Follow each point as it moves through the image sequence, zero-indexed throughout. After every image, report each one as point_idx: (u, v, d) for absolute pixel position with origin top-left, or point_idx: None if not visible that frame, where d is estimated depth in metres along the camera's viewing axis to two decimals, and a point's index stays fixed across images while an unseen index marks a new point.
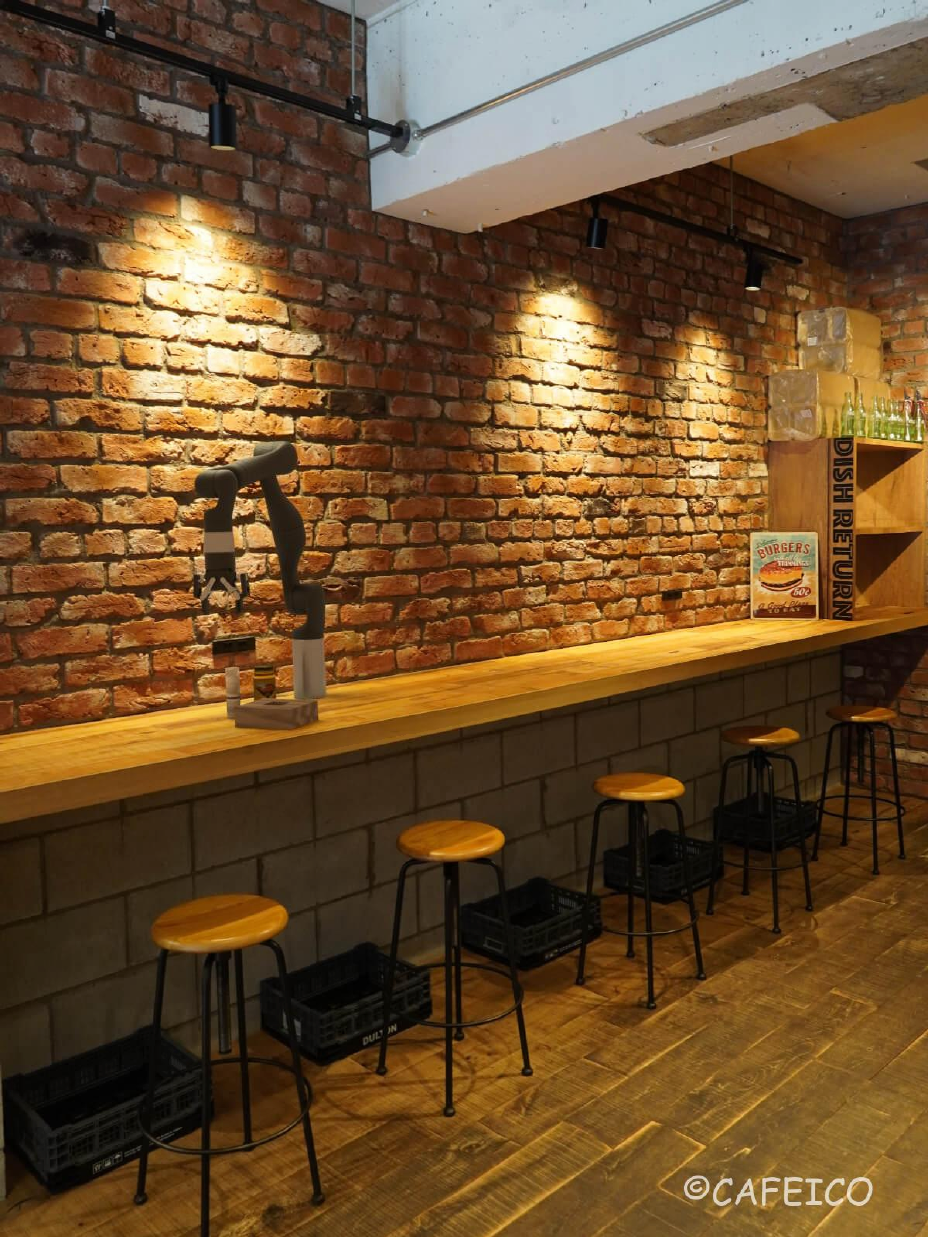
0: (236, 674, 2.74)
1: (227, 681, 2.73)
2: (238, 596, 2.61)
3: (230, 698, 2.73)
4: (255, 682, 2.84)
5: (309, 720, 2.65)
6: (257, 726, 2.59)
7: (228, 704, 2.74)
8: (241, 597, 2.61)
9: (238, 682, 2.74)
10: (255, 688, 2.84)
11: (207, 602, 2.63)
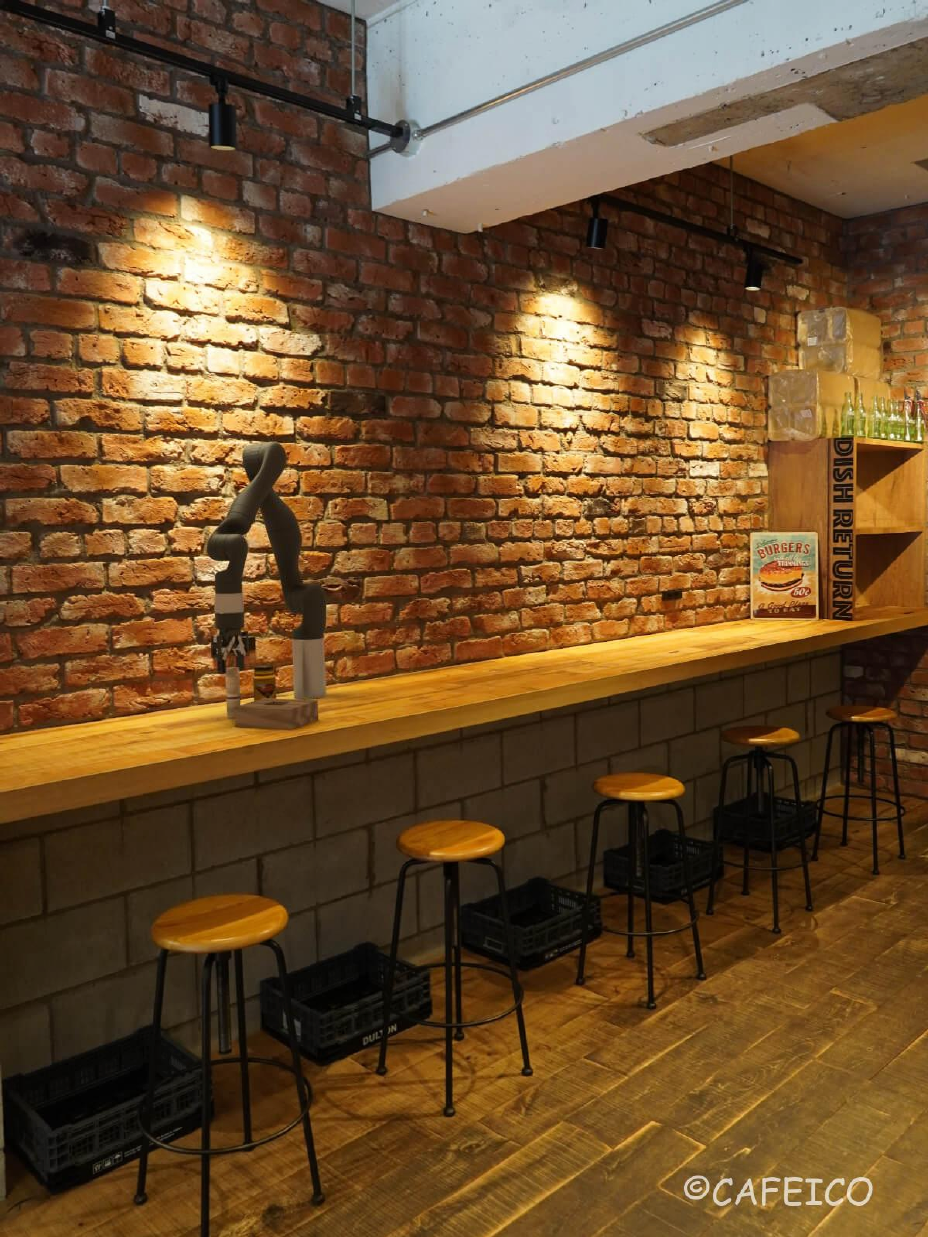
0: (236, 674, 2.74)
1: (227, 681, 2.73)
2: (244, 652, 2.78)
3: (230, 698, 2.73)
4: (255, 682, 2.84)
5: (309, 720, 2.65)
6: (257, 726, 2.59)
7: (228, 704, 2.74)
8: None
9: (238, 682, 2.74)
10: (255, 688, 2.84)
11: None
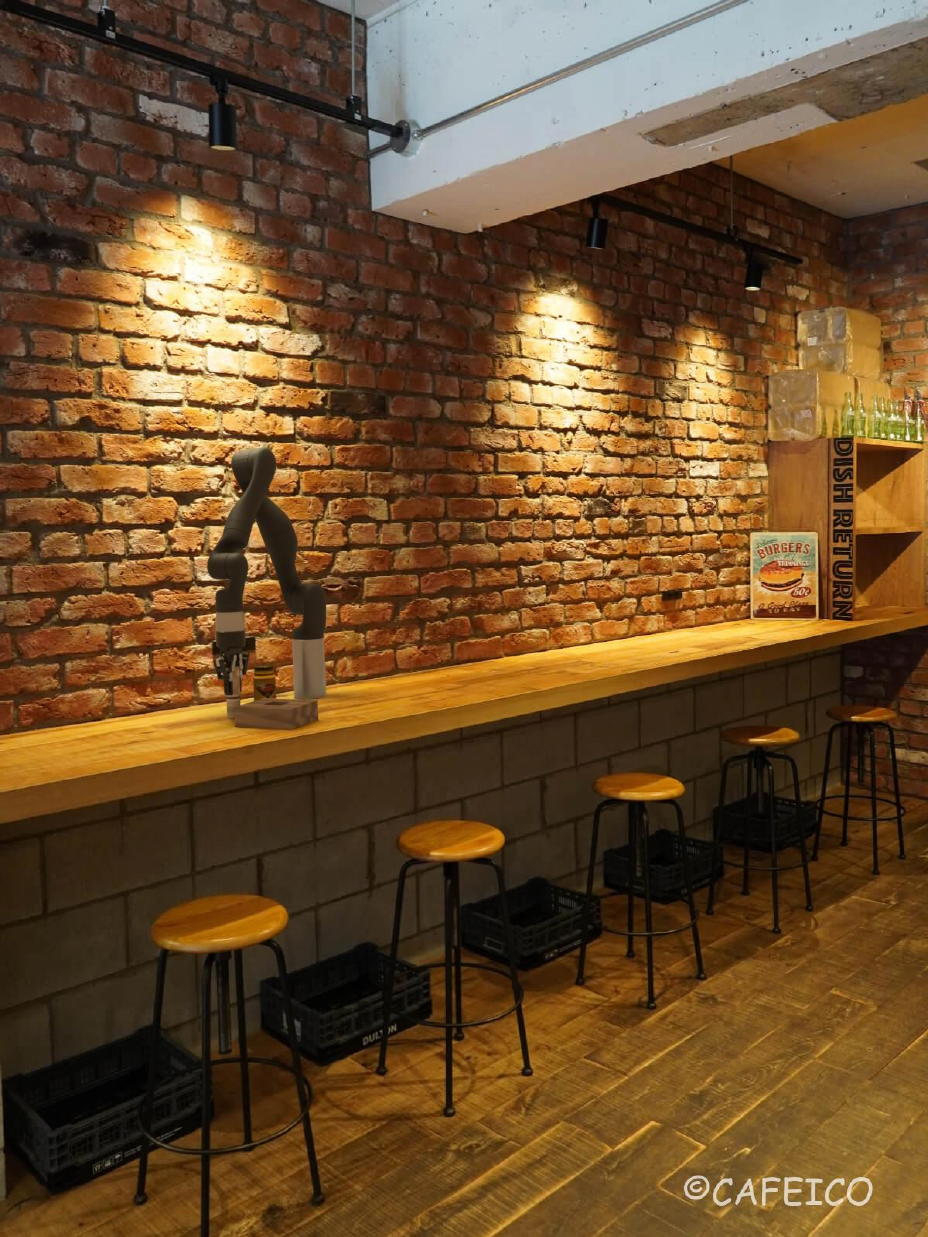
0: (236, 674, 2.74)
1: None
2: (242, 675, 2.77)
3: (230, 698, 2.73)
4: (255, 682, 2.84)
5: (309, 720, 2.65)
6: (257, 726, 2.59)
7: (228, 704, 2.74)
8: None
9: (238, 682, 2.74)
10: (255, 688, 2.84)
11: None
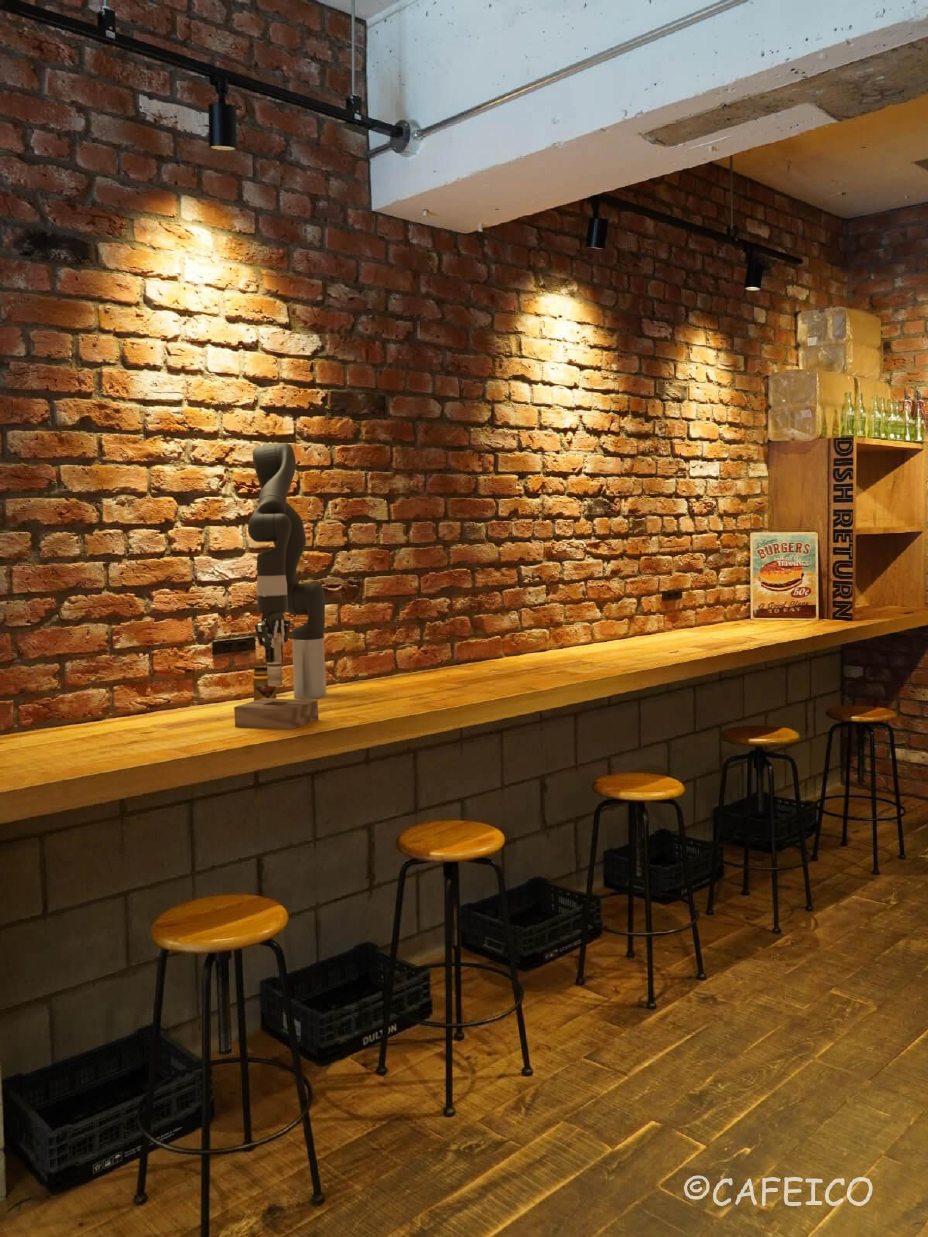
0: (278, 640, 2.63)
1: None
2: (283, 642, 2.66)
3: (271, 665, 2.62)
4: (255, 682, 2.84)
5: (309, 720, 2.65)
6: (257, 726, 2.59)
7: (269, 672, 2.63)
8: None
9: (280, 649, 2.63)
10: (255, 688, 2.84)
11: None
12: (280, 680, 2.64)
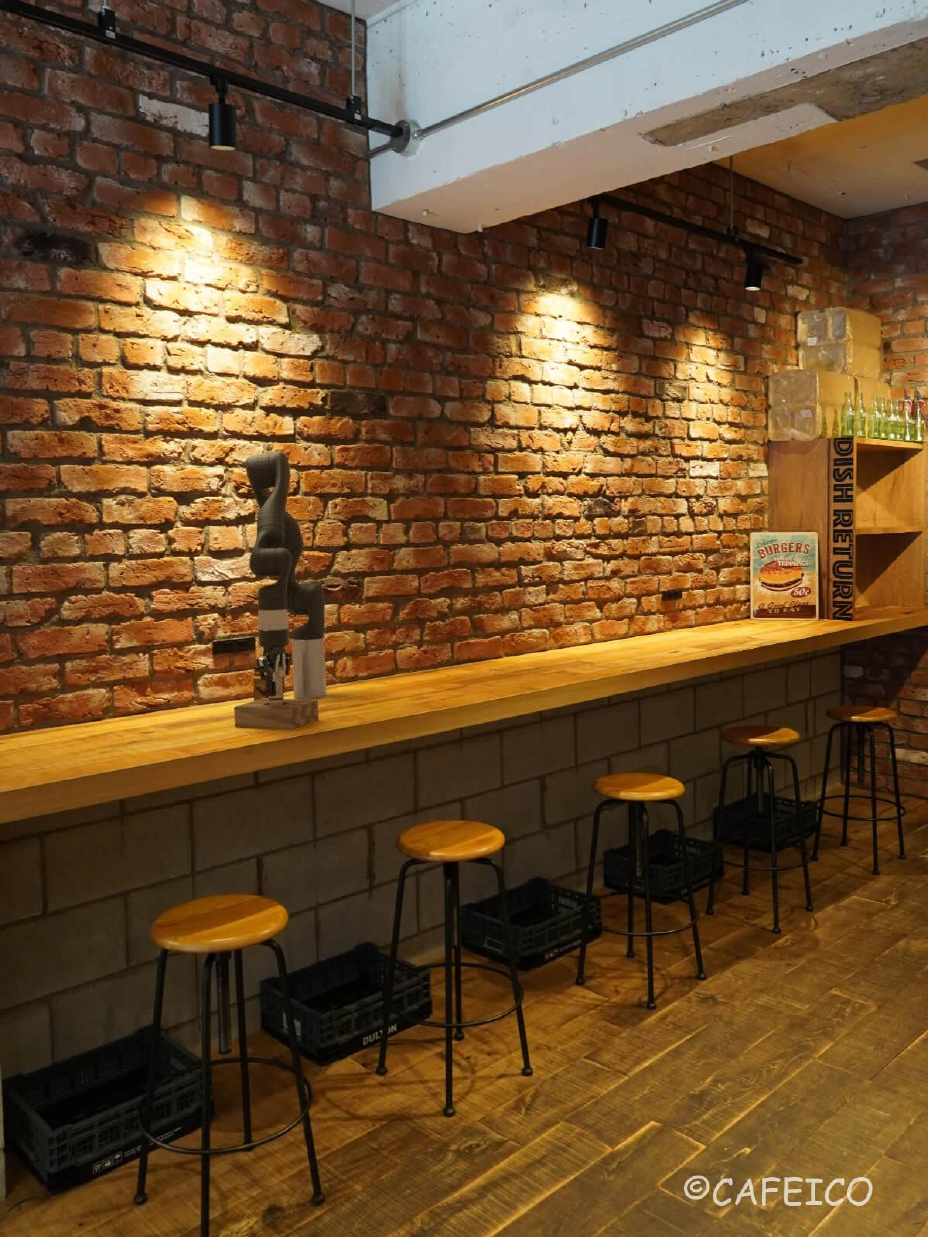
0: (279, 674, 2.63)
1: None
2: (284, 675, 2.67)
3: (273, 699, 2.63)
4: (255, 682, 2.84)
5: (309, 720, 2.65)
6: (257, 726, 2.59)
7: None
8: None
9: (281, 683, 2.64)
10: (255, 688, 2.84)
11: None
12: None
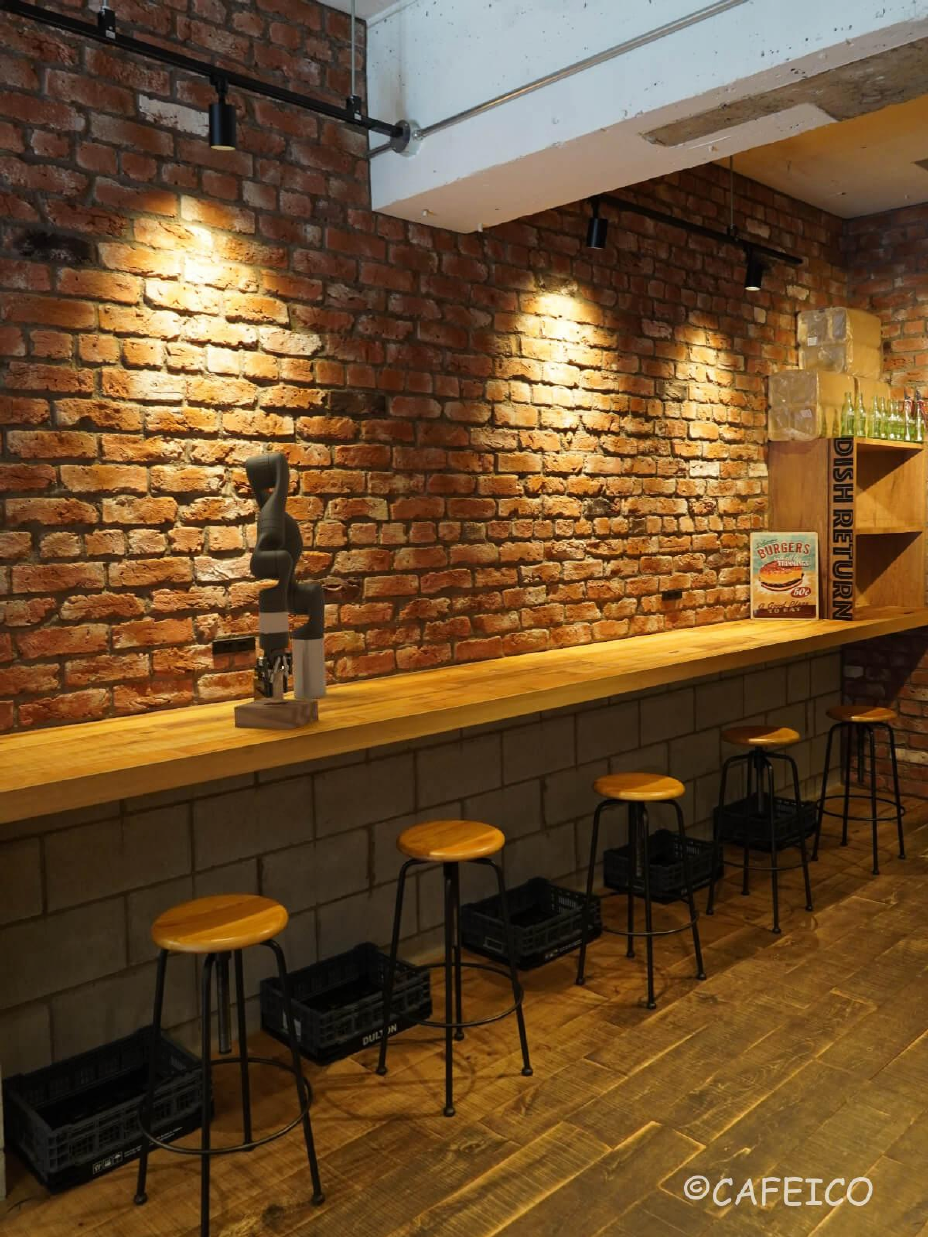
0: (280, 679, 2.63)
1: None
2: (288, 674, 2.68)
3: (273, 703, 2.63)
4: (255, 682, 2.84)
5: (309, 720, 2.65)
6: (257, 726, 2.59)
7: None
8: None
9: (282, 687, 2.64)
10: (255, 688, 2.84)
11: None
12: None
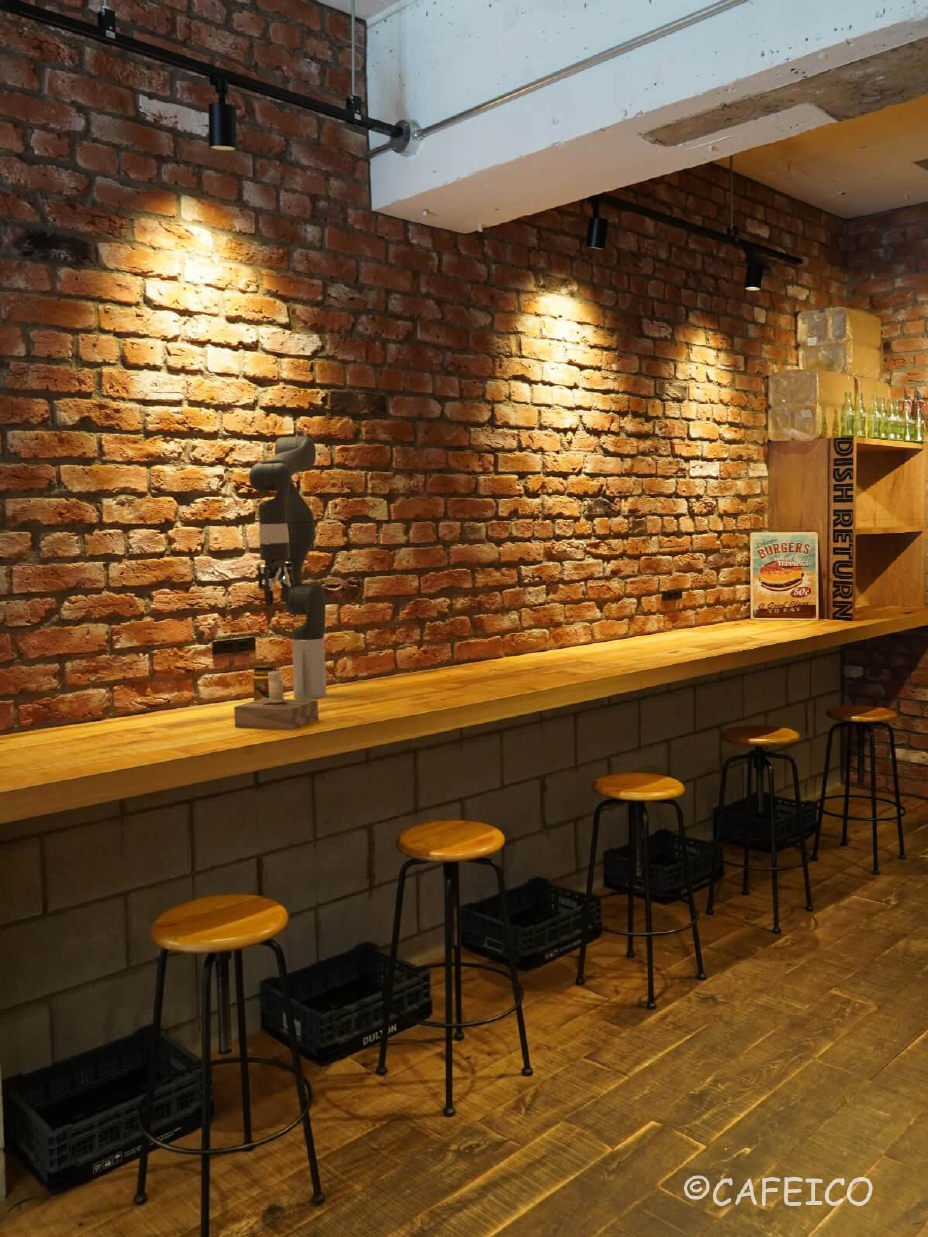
0: (280, 679, 2.63)
1: (270, 686, 2.63)
2: (290, 583, 2.76)
3: (273, 703, 2.63)
4: (255, 682, 2.84)
5: (309, 720, 2.65)
6: (257, 726, 2.59)
7: None
8: None
9: (282, 687, 2.64)
10: (255, 688, 2.84)
11: None
12: None
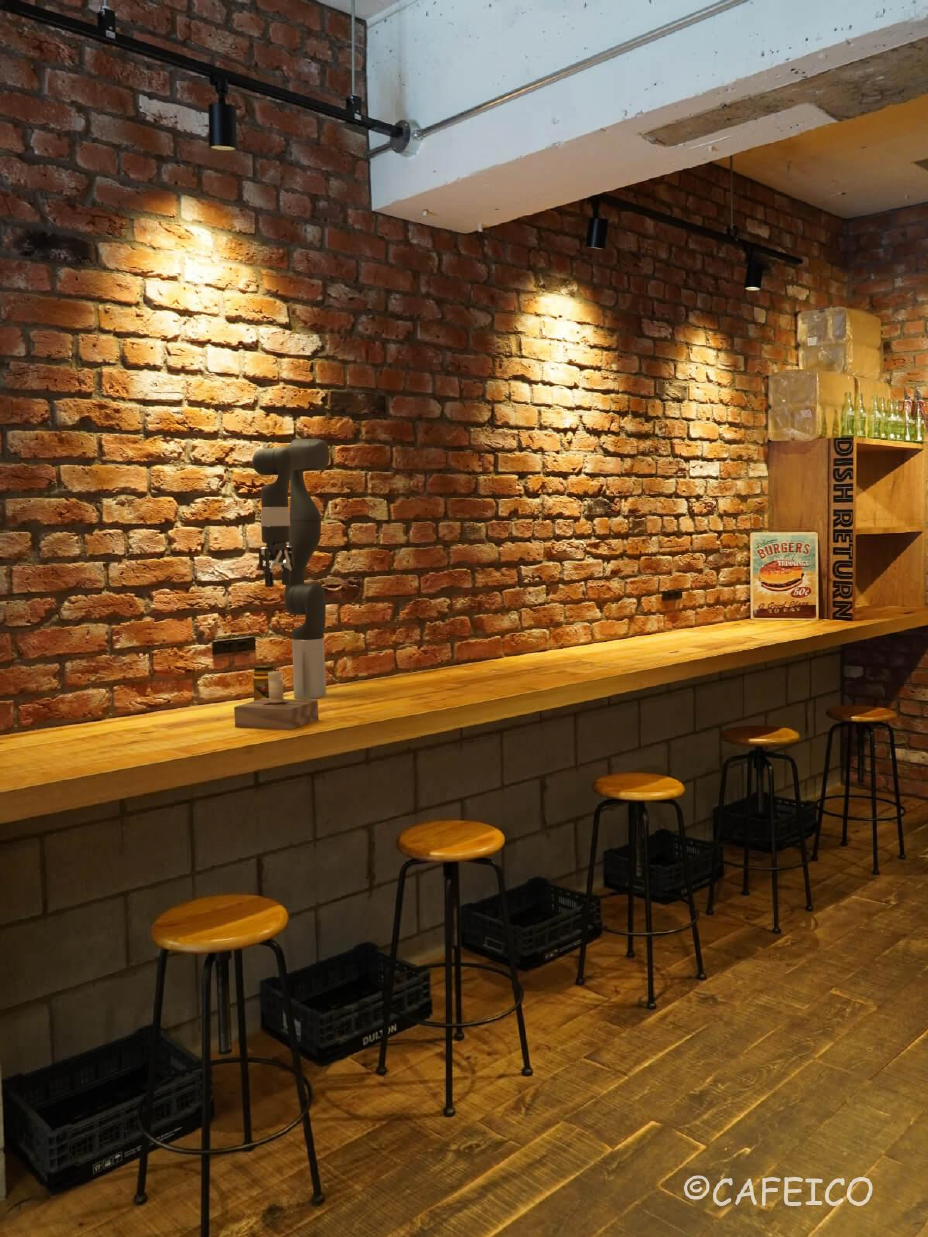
0: (280, 679, 2.63)
1: (270, 686, 2.63)
2: (290, 567, 2.81)
3: (273, 703, 2.63)
4: (255, 682, 2.84)
5: (309, 720, 2.65)
6: (257, 726, 2.59)
7: None
8: None
9: (282, 687, 2.64)
10: (255, 688, 2.84)
11: None
12: None
